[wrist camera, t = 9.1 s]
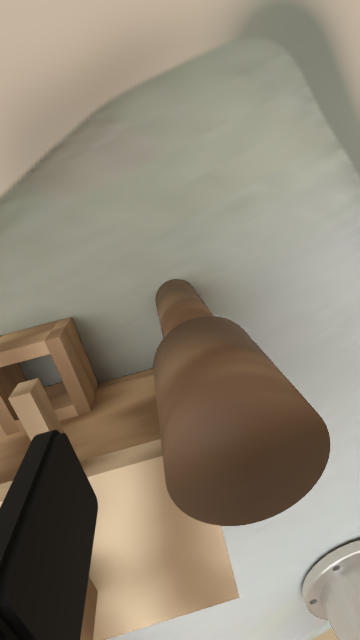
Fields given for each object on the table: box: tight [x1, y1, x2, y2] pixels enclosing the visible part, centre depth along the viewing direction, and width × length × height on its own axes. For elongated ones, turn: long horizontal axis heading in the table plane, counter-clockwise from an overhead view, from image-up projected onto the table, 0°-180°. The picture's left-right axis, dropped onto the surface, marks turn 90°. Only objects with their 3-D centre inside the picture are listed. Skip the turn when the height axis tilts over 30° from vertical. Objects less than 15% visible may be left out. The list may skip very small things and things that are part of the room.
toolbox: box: [0, 317, 161, 484], centre depth 18 cm, size 16×17×7 cm
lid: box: [0, 378, 239, 640], centre depth 12 cm, size 16×17×7 cm
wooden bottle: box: [153, 279, 330, 526], centre depth 13 cm, size 4×4×13 cm
